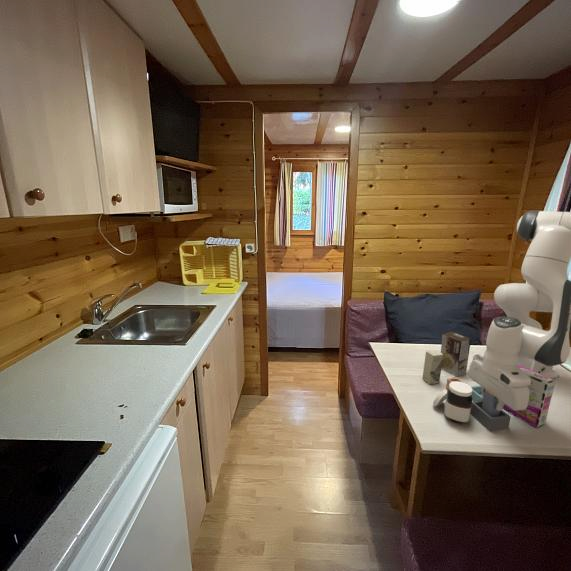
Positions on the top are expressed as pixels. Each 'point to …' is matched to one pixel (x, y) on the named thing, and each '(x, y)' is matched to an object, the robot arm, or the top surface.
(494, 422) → the box
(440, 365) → the box
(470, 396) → the spread jar
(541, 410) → the candy bar box
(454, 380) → the cup
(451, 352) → the coffee box
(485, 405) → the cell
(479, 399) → the trough
